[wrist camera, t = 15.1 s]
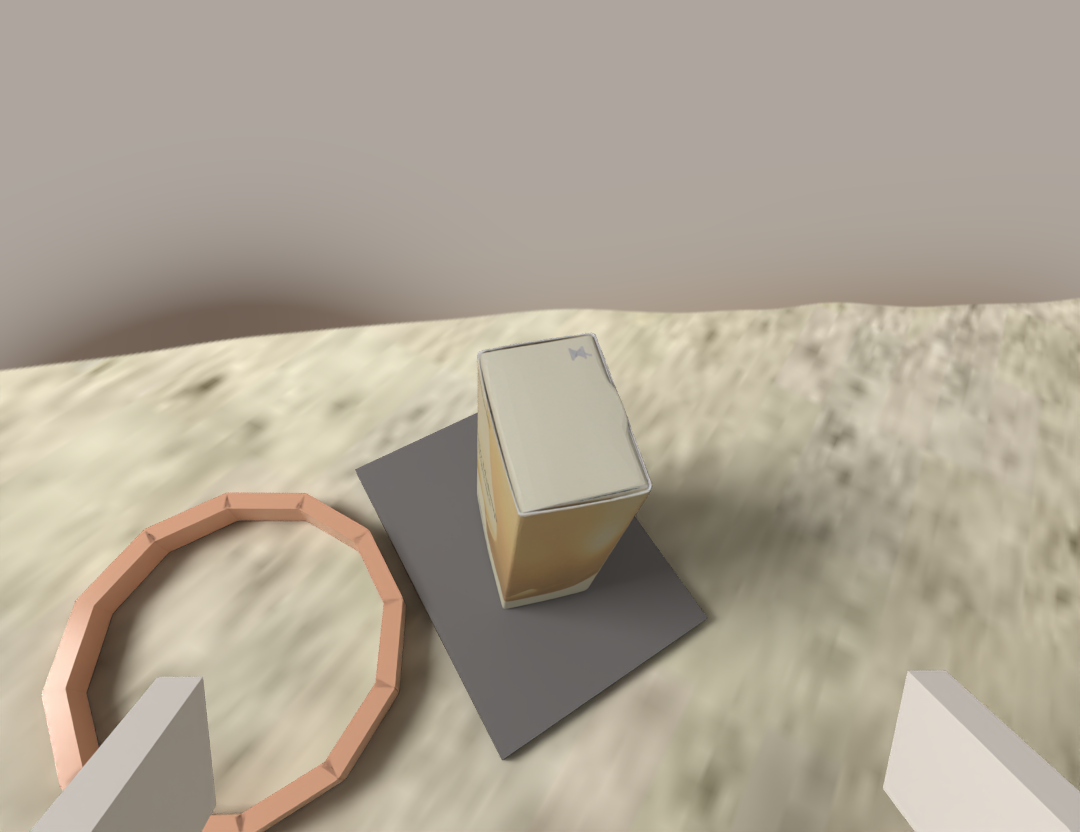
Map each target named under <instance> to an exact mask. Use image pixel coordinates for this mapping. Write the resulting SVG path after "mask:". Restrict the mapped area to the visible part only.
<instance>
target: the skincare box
mask: <svg viewBox="0 0 1080 832" xmlns="http://www.w3.org/2000/svg"><path fill="white" fill-rule="evenodd" d="M477 362H478V435H477V497H478V503H479V508H480V514H481V519H482V525H483V530H484V534H485V539H486V544H487V548H488V553H489V557H490V561H491V565H492V569H493V573H494V577H495V581H496V584H497V588H498V592H499V596H500V600H501V604H502V607H503V608H504V609H508V608H513V607H518V606H523V605H527V604H532V603H536V602H541V601H545V600H550V599H554V598H558V597H562V596H566V595H570V594H574V593H578V592H582V591H585V590H587V589H588V588H589V586H590V585H591V583H592V581H593V580H594V578H595V577H596V575H597V574H598V572H599V571H600V569H601V567H602V566H603V564H604V563H605V561H606V560H607V558H608V556H609V555H610V554H611V552H612V550H613V549H614V547H615V546H616V544H617V543H618V541H619V540H620V538H621V536H622V535H623V533H624V532H625V530H626V529H627V527H628V526H629V524H630V523H631V521H632V519H633V518H634V516H635V515H636V513H637V512H638V510H639V509H640V507H641V506H642V504H643V502H644V501H645V499H646V498H647V496H648V495H649V493H650V492H651V489H652V483H651V480H650V478H649V475H648V472H647V470H646V467H645V464H644V461H643V459H642V456H641V453H640V451H639V448H638V445H637V443H636V440H635V437H634V434H633V432H632V430H631V426H630V423H629V420H628V418H627V415H626V412H625V409H624V406H623V404H622V401H621V399H620V397H619V394H618V392H617V390H616V387H615V385H614V382H613V379H612V377H611V374H610V371H609V369H608V366H607V364H606V361H605V358H604V356H603V353H602V350H601V348H600V345H599V343H598V340H597V337H596V335H595V334H594V333H585V334H580V335H574V336H565V337H559V338H551V339H545V340H539V341H532V342H525V343H519V344H513V345H508V346H502V347H498V348H493V349H487V350H482V351H479V353H478V355H477Z"/></svg>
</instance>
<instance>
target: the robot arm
mask: <svg viewBox="0 0 1080 832" xmlns="http://www.w3.org/2000/svg"><path fill="white" fill-rule="evenodd" d="M883 789H884V791H885V792H886V793H887V795H888V796H889V797H890V799H891V800H892V801H893V803H894V804H895V805H896V807H897V808H898V809H899V811H900V812H901V814H902V815H903V816H904V818H905V819H906V820H907V822H908V823H909V824H910V826H911V827H912V828H913V830H914V831H915V832H1080V791H1079V790H1078V789H1076V788H1075V787H1074V786H1073V785H1072V784H1071V783H1070V782H1069V781H1068V780H1066V779H1065V778H1064V777H1063V776H1062V775H1061V774H1060V773H1059V772H1058V771H1056V770H1055V769H1054V768H1053V767H1052V766H1051V765H1050V764H1049V763H1048V762H1046V761H1045V760H1044V759H1043V758H1042V757H1041V756H1040V755H1039V754H1038V753H1036V752H1035V751H1034V750H1033V749H1032V748H1031V747H1030V746H1029V745H1028V744H1026V743H1025V742H1024V741H1023V740H1022V739H1021V738H1020V737H1019V736H1018V735H1016V734H1015V733H1014V732H1013V731H1012V730H1011V729H1010V728H1009V727H1008V726H1006V725H1005V724H1004V723H1003V722H1002V721H1001V720H1000V719H999V718H998V717H996V716H995V715H994V714H993V713H992V712H991V711H990V710H989V709H988V708H986V707H985V706H984V705H983V704H982V703H981V702H980V701H979V700H978V699H976V698H975V697H974V696H973V695H972V694H971V693H970V692H969V691H968V690H966V689H965V688H964V687H963V686H962V685H961V684H960V683H959V682H958V681H956V680H955V679H954V678H953V677H952V676H951V675H950V674H949V673H948V672H946V671H945V670H929V671H908V672H907V677H906V681H905V686H904V691H903V696H902V700H901V705H900V710H899V714H898V719H897V724H896V729H895V733H894V738H893V743H892V748H891V752H890V757H889V762H888V766H887V771H886V776H885V781H884V785H883ZM215 806H216V798H215V788H214V779H213V769H212V760H211V750H210V740H209V731H208V721H207V712H206V702H205V692H204V683H203V677H157V678H156V680H155V681H154V682H153V683H152V685H151V686H150V687H149V688H148V689H147V691H146V692H145V693H144V694H143V695H142V697H141V698H140V699H139V700H138V701H137V703H136V704H135V705H134V706H133V707H132V709H131V710H130V711H129V712H128V713H127V715H126V716H125V717H124V718H123V719H122V721H121V722H120V723H119V724H118V725H117V727H116V728H115V729H114V730H113V732H112V733H111V734H110V735H109V736H108V738H107V739H106V740H105V741H104V742H103V744H102V745H101V746H100V747H99V748H98V750H97V751H96V752H95V753H94V754H93V756H92V757H91V758H90V759H89V760H88V762H87V763H86V764H85V765H84V766H83V768H82V769H81V770H80V771H79V772H78V774H77V775H76V776H75V777H74V778H73V780H72V781H71V782H70V783H69V785H68V786H67V787H66V788H65V789H64V791H63V792H62V793H61V794H60V795H59V797H58V798H57V799H56V800H55V801H54V803H53V804H52V805H51V806H50V807H49V809H48V810H47V811H46V812H45V813H44V815H43V816H42V817H41V818H40V819H39V821H38V822H37V823H36V824H35V825H34V827H33V828H32V829H31V830H30V832H202V830H203V828H204V827H205V825H206V823H207V821H208V819H209V817H210V815H211V813H212V811H213V809H214V807H215Z"/></svg>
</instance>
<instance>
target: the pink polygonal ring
mask: <svg viewBox="0 0 1080 832" xmlns="http://www.w3.org/2000/svg"><path fill="white" fill-rule="evenodd" d="M238 520H271V521H308V522H310V523H311V524H313V525H315V526H316V527H318V528H320V529H321V530H323V531H325V532H326V533H328V534H330V535H332V536H333V537H335V538H337V539H338V540H340V541H342V542H343V543H345V544H347V545H348V546H350V547H352V548H354V549H355V550H357V551H359V552H360V554H361V556H362V558H363V561H364V563H365V565H366V567H367V569H368V571H369V573H370V575H371V577H372V579H373V582H374V584H375V586H376V588H377V590H378V592H379V594H380V596H381V598H382V600H383V602H384V606H383V616H382V625H381V635H380V645H379V654H378V664H377V674H376V683H375V684H374V686H373V687H372V689H371V690H370V692H369V694H368V695H367V697H366V698H365V700H364V701H363V703H362V705H361V706H360V708H359V709H358V711H357V712H356V714H355V715H354V717H353V719H352V720H351V722H350V723H349V725H348V726H347V728H346V730H345V731H344V733H343V734H342V736H341V737H340V739H339V740H338V742H337V744H336V745H335V747H334V748H333V750H332V751H331V753H330V755H329V756H328V758H327V759H326V761H325V762H324V763H322V764H321V765H319V766H317V767H316V768H314V769H312V770H311V771H309V772H308V773H306V774H304V775H303V776H301V777H300V778H298V779H296V780H295V781H293V782H292V783H290V784H288V785H287V786H285V787H284V788H282V789H280V790H279V791H277V792H276V793H274V794H272V795H271V796H269V797H267V798H266V799H264V800H263V801H261V802H259V803H258V804H256V805H255V806H253V807H251V808H250V809H248V810H247V811H245V812H243V813H233V814H211V815H210V817H209V819H208V821H207V823H206V825H205V827H204V828H203V830H202V832H264V831H266V830H267V829H269V828H270V827H272V826H274V825H275V824H277V823H278V822H280V821H281V820H283V819H284V818H286V817H288V816H289V815H291V814H292V813H294V812H295V811H297V810H299V809H300V808H302V807H303V806H305V805H306V804H308V803H309V802H311V801H313V800H314V799H316V798H317V797H319V796H320V795H322V794H324V793H325V792H327V791H328V790H330V789H331V788H333V787H334V786H336V785H338V784H339V783H341V782H342V781H344V780H345V779H346V778H347V777H348V775H349V773H350V772H351V770H352V768H353V767H354V765H355V764H356V762H357V760H358V759H359V757H360V755H361V754H362V752H363V750H364V749H365V747H366V746H367V744H368V742H369V741H370V739H371V737H372V736H373V734H374V733H375V731H376V729H377V728H378V726H379V724H380V723H381V721H382V720H383V718H384V716H385V715H386V713H387V711H388V710H389V708H390V707H391V705H392V703H393V702H394V700H395V698H396V697H397V695H398V694H399V693H398V692H399V688H400V676H401V665H402V653H403V641H404V629H405V617H406V604H405V602H404V600H403V597H402V595H401V593H400V591H399V589H398V587H397V585H396V583H395V581H394V579H393V577H392V575H391V573H390V571H389V569H388V567H387V565H386V563H385V561H384V559H383V557H382V555H381V553H380V551H379V549H378V547H377V545H376V543H375V541H374V539H373V537H372V535H371V533H370V531H369V529H367V528H365V527H364V526H362V525H360V524H358V523H357V522H355V521H353V520H351V519H350V518H348V517H346V516H345V515H343V514H341V513H339V512H338V511H336V510H334V509H332V508H331V507H329V506H327V505H326V504H324V503H322V502H320V501H319V500H317V499H315V498H314V497H312V496H310V495H308V494H307V493H225V494H222V495H220V496H218V497H216V498H213V499H211V500H209V501H207V502H204V503H202V504H200V505H198V506H195V507H193V508H191V509H189V510H186V511H184V512H182V513H180V514H177V515H175V516H173V517H171V518H168V519H166V520H164V521H162V522H159V523H157V524H155V525H153V526H150V527H148V528H146V529H145V530H143V531H142V532H141V533H140V534H139V535H138V536H137V537H136V538H135V539H134V540H133V541H132V542H131V543H130V545H129V546H128V547H127V548H126V549H125V550H124V551H123V552H122V553H121V554H120V555H119V556H118V557H117V558H116V559H115V560H114V561H113V562H112V563H111V564H110V565H109V566H108V567H107V568H106V569H105V570H104V571H103V573H102V574H101V575H100V576H99V577H98V578H97V579H96V580H95V581H94V582H93V583H92V584H91V585H90V586H89V587H88V588H87V589H86V590H85V591H84V592H83V593H82V594H81V595H80V596H79V597H78V598H77V601H75V604H74V606H73V609H72V612H71V615H70V617H69V620H68V623H67V626H66V628H65V631H64V634H63V637H62V639H61V642H60V645H59V648H58V650H57V653H56V656H55V659H54V661H53V664H52V667H51V670H50V672H49V675H48V678H47V681H46V683H45V686H44V689H43V692H42V694H43V695H42V700H43V705H44V710H45V715H46V720H47V725H48V730H49V735H50V740H51V745H52V750H53V755H54V760H55V765H56V770H57V775H58V780H59V785H60V787H61V789H62V790H64V789H65V788H66V787H67V786H68V785H69V783H70V782H71V781H72V780H73V778H74V777H75V776H76V775H77V774H78V772H79V771H80V770H81V769H82V768H83V766H84V765H85V764H86V763H87V762H88V760H89V759H90V758H91V757H92V756H93V754H94V753H95V752H96V751H97V750H98V748H99V745H98V741H97V736H96V732H95V728H94V724H93V719H92V715H91V711H90V706H89V702H88V698H87V694H86V693H87V690H88V687H89V684H90V681H91V678H92V675H93V672H94V669H95V666H96V662H97V659H98V656H99V653H100V650H101V647H102V644H103V641H104V638H105V635H106V632H107V629H108V626H109V623H110V620H111V617H112V614H113V613H114V612H115V611H116V609H117V608H118V607H119V606H120V605H121V604H122V603H123V602H124V601H125V600H126V599H127V597H128V596H129V595H130V594H131V593H132V592H133V591H134V590H135V589H136V588H137V587H138V586H139V584H140V583H141V582H142V581H143V580H144V579H145V578H146V577H147V576H148V575H149V574H150V572H151V571H152V570H153V569H154V568H155V567H156V566H157V565H158V564H159V563H160V562H161V560H162V559H163V558H164V557H165V556H166V555H167V554H168V553H169V552H171V551H173V550H175V549H178V548H180V547H182V546H184V545H186V544H188V543H191V542H193V541H195V540H197V539H199V538H201V537H204V536H206V535H208V534H210V533H212V532H214V531H216V530H219V529H221V528H223V527H225V526H227V525H229V524H232V523H234V522H236V521H238Z"/></svg>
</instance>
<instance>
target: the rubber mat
mask: <svg viewBox="0 0 1080 832" xmlns="http://www.w3.org/2000/svg"><path fill="white" fill-rule="evenodd" d="M477 435H478V413H476V414H474V415H472V416H469V417H467V418H465V419H463V420H461V421H459V422H456V423H454V424H452V425H450V426H448V427H446V428H444V429H441V430H439V431H437V432H435V433H433V434H431V435H428V436H426V437H424V438H422V439H420V440H418V441H416V442H413V443H411V444H409V445H407V446H405V447H403V448H401V449H398V450H396V451H394V452H392V453H390V454H388V455H385V456H383V457H381V458H379V459H377V460H375V461H373V462H370V463H368V464H366V465H364V466H362V467H360V468H358V469H355V470H356V472H357V475H358V477H359V479H360V481H361V483H362V485H363V487H364V489H365V491H366V493H367V495H368V497H369V499H370V501H371V503H372V504H373V506H374V508H375V510H376V512H377V514H378V516H379V518H380V520H381V522H382V524H383V526H384V528H385V530H386V532H387V534H388V536H389V538H390V540H391V542H392V544H393V546H394V548H395V550H396V552H397V554H398V556H399V558H400V560H401V562H402V564H403V566H404V568H405V570H406V572H407V574H408V576H409V577H410V579H411V581H412V583H413V585H414V587H415V589H416V591H417V593H418V595H419V597H420V599H421V601H422V603H423V605H424V607H425V609H426V611H427V613H428V615H429V617H430V619H431V621H432V623H433V625H434V627H435V629H436V631H437V633H438V635H439V637H440V639H441V641H442V643H443V645H444V647H445V649H446V650H447V652H448V654H449V656H450V658H451V660H452V662H453V664H454V666H455V668H456V670H457V672H458V674H459V676H460V678H461V680H462V682H463V684H464V686H465V688H466V690H467V692H468V694H469V696H470V698H471V700H472V702H473V704H474V706H475V708H476V710H477V712H478V714H479V716H480V718H481V720H482V722H483V724H484V725H485V727H486V729H487V731H488V733H489V735H490V737H491V739H492V741H493V743H494V745H495V747H496V749H497V751H498V753H499V755H500V757H501V759H502V760H503V759H505V758H506V757H508V756H509V755H510V754H512V753H513V752H515V751H516V750H518V749H519V748H521V747H522V746H523V745H525V744H526V743H528V742H529V741H531V740H532V739H534V738H535V737H537V736H538V735H539V734H541V733H542V732H544V731H545V730H547V729H548V728H550V727H551V726H552V725H554V724H555V723H557V722H558V721H560V720H561V719H563V718H564V717H565V716H567V715H568V714H570V713H571V712H573V711H574V710H576V709H577V708H578V707H580V706H581V705H583V704H584V703H586V702H587V701H589V700H590V699H591V698H593V697H594V696H596V695H597V694H599V693H600V692H602V691H603V690H605V689H606V688H607V687H609V686H610V685H612V684H613V683H615V682H616V681H618V680H619V679H620V678H622V677H623V676H625V675H626V674H628V673H629V672H631V671H632V670H633V669H635V668H636V667H638V666H639V665H641V664H642V663H644V662H645V661H646V660H648V659H649V658H651V657H652V656H654V655H655V654H657V653H658V652H660V651H661V650H662V649H664V648H665V647H667V646H668V645H670V644H671V643H673V642H674V641H675V640H677V639H678V638H680V637H681V636H683V635H684V634H686V633H687V632H688V631H690V630H691V629H693V628H694V627H696V626H697V625H699V624H700V623H701V622H703V621H704V620H706V619H707V617H706V615H705V614H704V613H703V611H702V610H701V608H700V607H699V606H698V604H697V603H696V601H695V600H694V599H693V597H692V596H691V594H690V593H689V592H688V590H687V589H686V587H685V586H684V585H683V583H682V582H681V580H680V579H679V578H678V576H677V575H676V573H675V572H674V571H673V569H672V568H671V567H670V565H669V564H668V562H667V561H666V560H665V558H664V557H663V555H662V554H661V553H660V551H659V550H658V548H657V547H656V546H655V544H654V543H653V541H652V540H651V539H650V537H649V536H648V534H647V533H646V532H645V530H644V529H643V527H642V526H641V525H640V523H639V522H638V520H637V519H636V518H635V516H634V518H633V519H632V521H631V523H630V524H629V526H628V527H627V529H626V530H625V532H624V533H623V535H622V536H621V538H620V540H619V541H618V543H617V544H616V546H615V547H614V549H613V550H612V552H611V554H610V555H609V556H608V558H607V560H606V561H605V563H604V564H603V566H602V567H601V569H600V571H599V572H598V574H597V575H596V577H595V578H594V580H593V581H592V583H591V585H590V586H589V588H588V589H587V590H585V591H582V592H578V593H574V594H570V595H566V596H562V597H558V598H554V599H550V600H545V601H541V602H536V603H532V604H527V605H523V606H518V607H513V608H508V609H504V608H503V607H502V604H501V600H500V596H499V592H498V588H497V584H496V581H495V577H494V573H493V569H492V565H491V561H490V557H489V553H488V548H487V544H486V539H485V534H484V530H483V525H482V519H481V514H480V508H479V503H478V497H477Z"/></svg>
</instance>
